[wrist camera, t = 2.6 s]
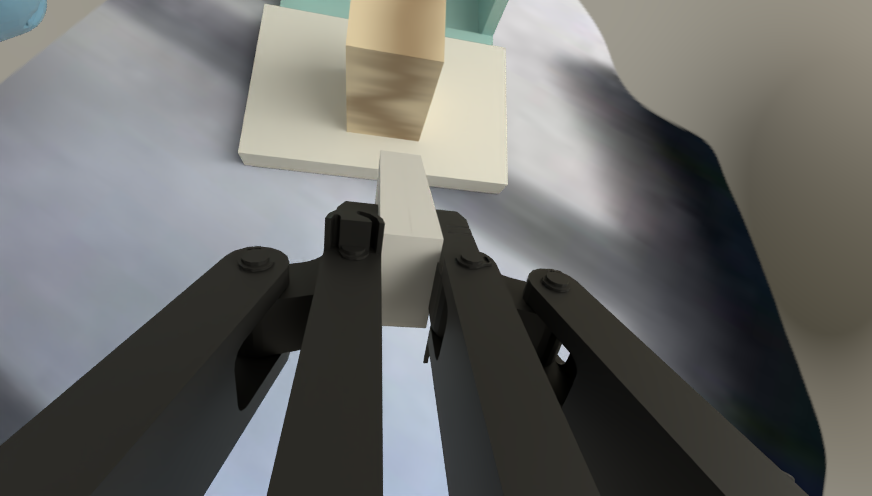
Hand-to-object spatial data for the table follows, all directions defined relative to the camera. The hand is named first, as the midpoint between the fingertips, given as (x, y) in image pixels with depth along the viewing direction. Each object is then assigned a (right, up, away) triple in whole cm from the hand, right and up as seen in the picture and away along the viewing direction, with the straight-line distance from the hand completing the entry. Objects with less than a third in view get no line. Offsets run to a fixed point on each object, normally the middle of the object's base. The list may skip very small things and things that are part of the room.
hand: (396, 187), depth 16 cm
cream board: (-3, +9, +18) cm, 21 cm away
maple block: (-2, +9, +16) cm, 19 cm away
